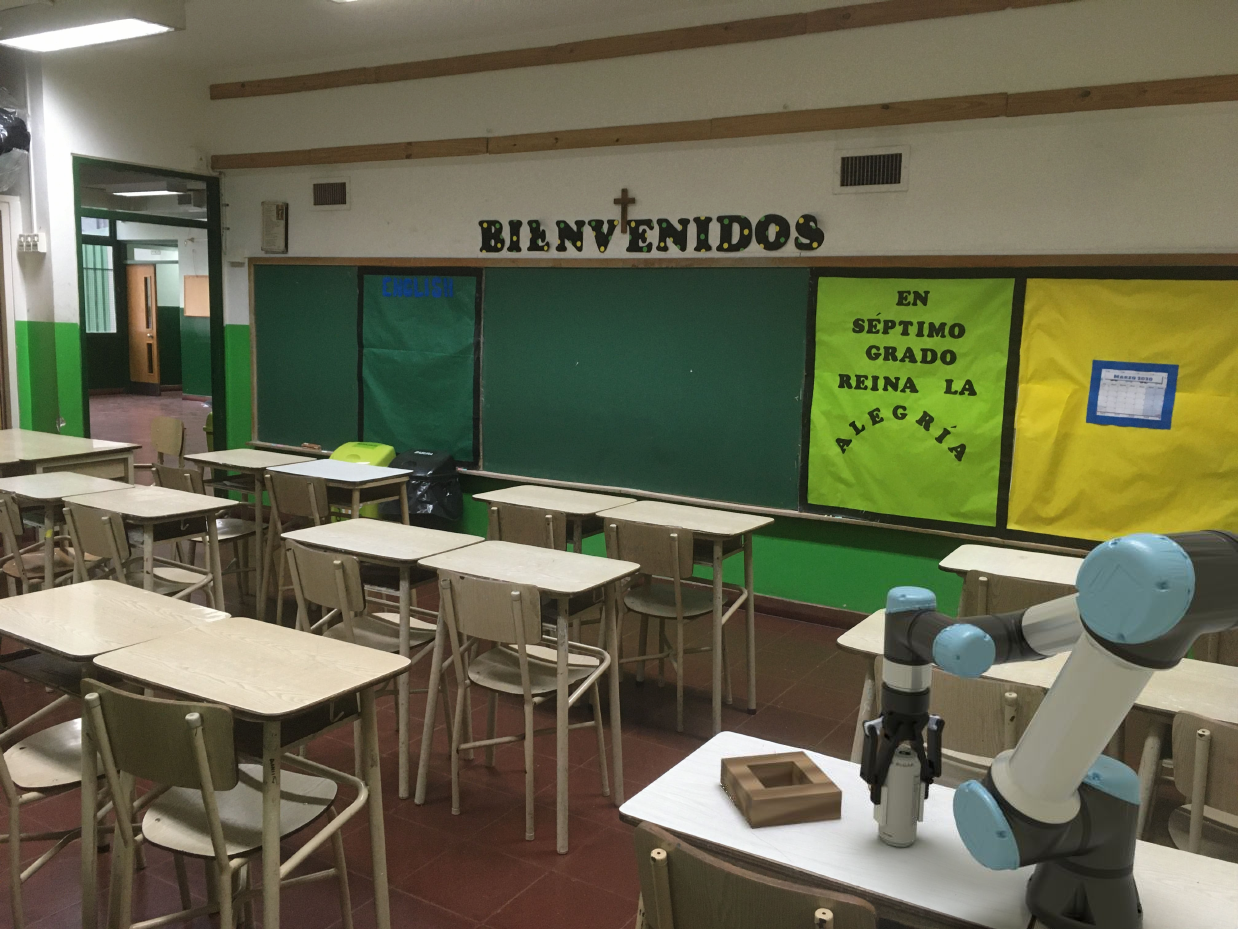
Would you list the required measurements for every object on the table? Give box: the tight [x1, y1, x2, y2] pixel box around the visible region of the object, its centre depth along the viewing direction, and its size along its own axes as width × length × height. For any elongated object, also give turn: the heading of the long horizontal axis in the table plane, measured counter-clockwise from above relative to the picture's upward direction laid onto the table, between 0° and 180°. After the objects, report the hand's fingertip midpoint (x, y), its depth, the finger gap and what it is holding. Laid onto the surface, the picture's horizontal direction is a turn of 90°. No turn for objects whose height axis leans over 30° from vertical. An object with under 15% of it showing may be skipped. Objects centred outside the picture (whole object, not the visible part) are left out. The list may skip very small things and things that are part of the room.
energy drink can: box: [877, 745, 921, 848], centre depth 157 cm, size 6×6×15 cm
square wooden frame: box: [719, 750, 843, 829], centre depth 170 cm, size 16×16×5 cm
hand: (898, 819), depth 158 cm, fingers closed on energy drink can, 6 cm apart
